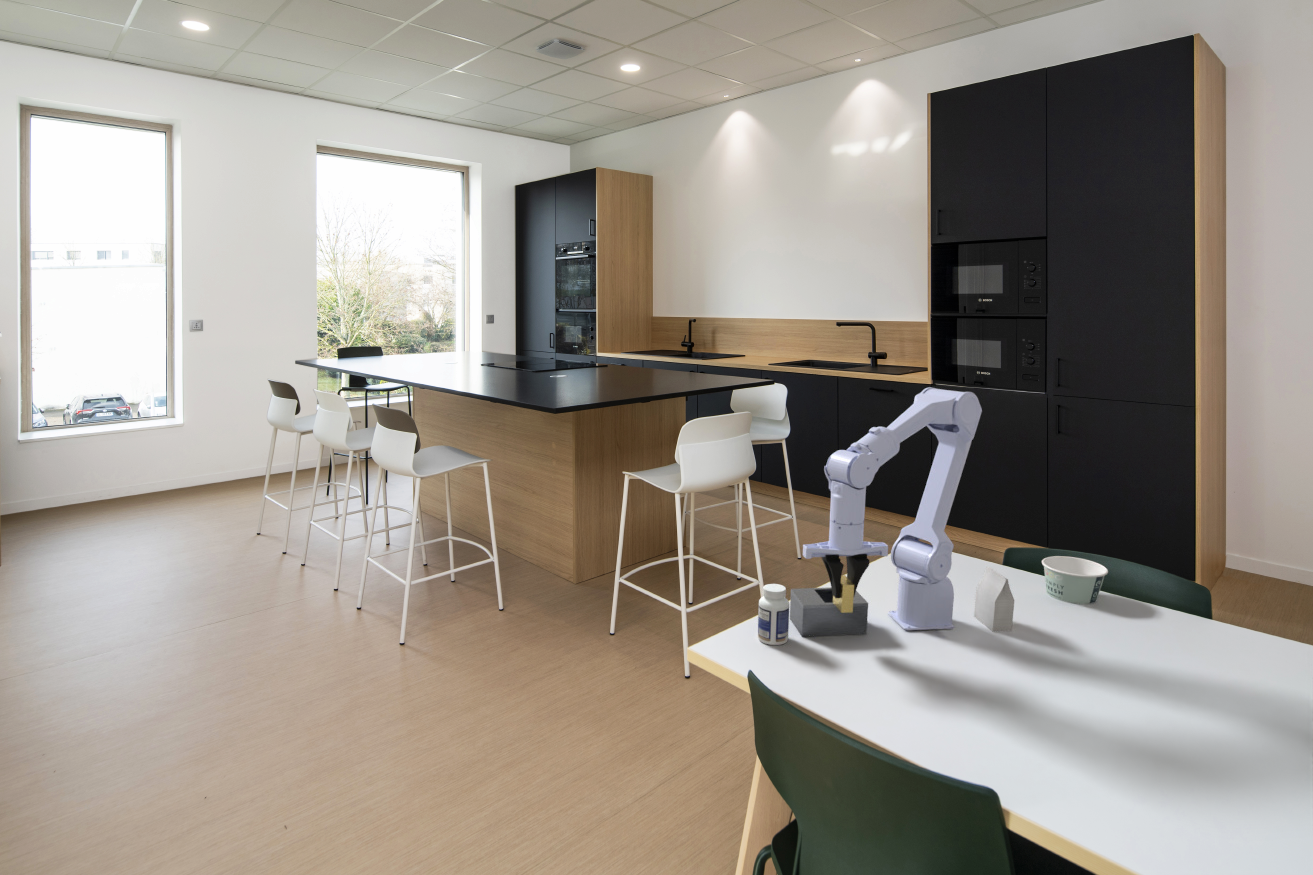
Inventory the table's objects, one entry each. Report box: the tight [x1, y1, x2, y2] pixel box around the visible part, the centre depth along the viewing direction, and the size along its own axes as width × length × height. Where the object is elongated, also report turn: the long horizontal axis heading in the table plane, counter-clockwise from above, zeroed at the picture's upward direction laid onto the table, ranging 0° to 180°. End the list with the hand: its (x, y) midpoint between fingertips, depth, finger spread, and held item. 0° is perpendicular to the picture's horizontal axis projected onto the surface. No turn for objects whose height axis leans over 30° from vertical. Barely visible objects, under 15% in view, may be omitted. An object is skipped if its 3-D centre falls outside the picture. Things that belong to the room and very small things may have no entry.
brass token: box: [833, 575, 854, 613], centre depth 132 cm, size 2×4×5 cm, turn 6°
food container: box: [1041, 555, 1109, 605], centre depth 156 cm, size 12×12×6 cm
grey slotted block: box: [789, 586, 869, 638], centre depth 140 cm, size 12×8×6 cm, turn 96°
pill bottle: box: [757, 583, 790, 646], centre depth 134 cm, size 5×5×10 cm
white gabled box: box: [973, 566, 1015, 632], centre depth 142 cm, size 4×7×10 cm, turn 5°
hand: (843, 595), depth 132 cm, fingers closed on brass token, 2 cm apart
